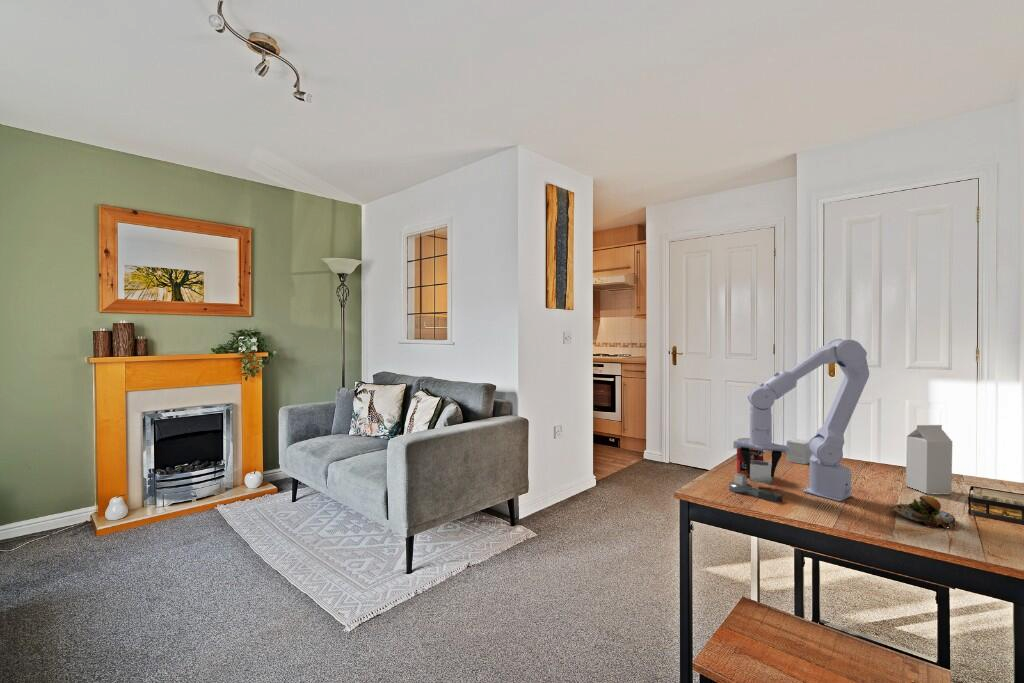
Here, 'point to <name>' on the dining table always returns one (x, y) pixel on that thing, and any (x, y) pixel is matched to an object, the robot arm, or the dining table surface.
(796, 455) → the skincare box
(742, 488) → the ratchet
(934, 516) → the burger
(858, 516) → the dining table surface
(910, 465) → the milk carton
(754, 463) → the socket
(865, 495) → the dining table surface
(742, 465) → the canned food
